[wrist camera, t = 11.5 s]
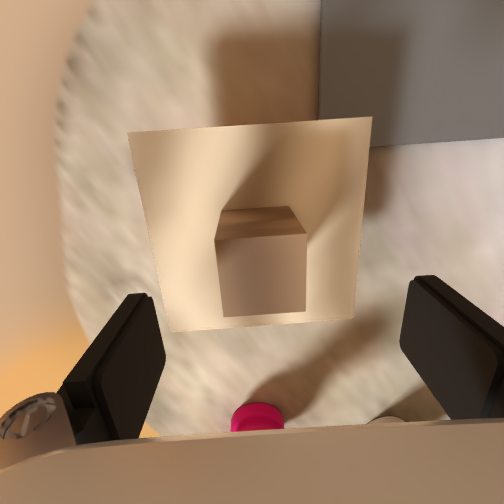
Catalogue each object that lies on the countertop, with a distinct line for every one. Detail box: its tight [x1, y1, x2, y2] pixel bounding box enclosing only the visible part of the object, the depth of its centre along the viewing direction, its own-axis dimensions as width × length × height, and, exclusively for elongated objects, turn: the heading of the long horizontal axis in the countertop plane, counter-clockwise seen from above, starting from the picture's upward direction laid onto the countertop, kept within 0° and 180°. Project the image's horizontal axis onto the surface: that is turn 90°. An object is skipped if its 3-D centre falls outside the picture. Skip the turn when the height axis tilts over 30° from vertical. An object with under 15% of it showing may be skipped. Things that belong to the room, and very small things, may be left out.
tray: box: [318, 0, 504, 147], centre depth 19 cm, size 15×15×1 cm
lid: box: [127, 117, 372, 332], centre depth 16 cm, size 13×13×6 cm
